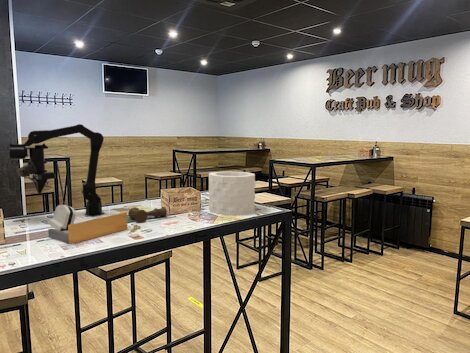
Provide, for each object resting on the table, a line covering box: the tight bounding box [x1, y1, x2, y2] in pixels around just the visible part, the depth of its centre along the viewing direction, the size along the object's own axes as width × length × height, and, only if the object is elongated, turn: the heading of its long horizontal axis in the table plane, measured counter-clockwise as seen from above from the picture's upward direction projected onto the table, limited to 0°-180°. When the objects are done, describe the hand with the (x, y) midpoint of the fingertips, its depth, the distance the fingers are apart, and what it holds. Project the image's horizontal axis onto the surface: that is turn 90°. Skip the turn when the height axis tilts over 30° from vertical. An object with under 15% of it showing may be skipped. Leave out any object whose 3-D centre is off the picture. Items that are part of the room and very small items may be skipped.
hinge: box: [47, 204, 77, 231], centre depth 154 cm, size 17×5×10 cm, turn 41°
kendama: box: [127, 206, 168, 224], centre depth 166 cm, size 6×10×20 cm
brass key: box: [129, 225, 141, 233], centre depth 149 cm, size 7×3×1 cm, turn 175°
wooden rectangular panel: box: [48, 211, 128, 245], centre depth 144 cm, size 25×15×7 cm, turn 145°
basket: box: [208, 170, 256, 216], centre depth 186 cm, size 25×24×19 cm
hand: (39, 193), depth 163 cm, fingers closed
